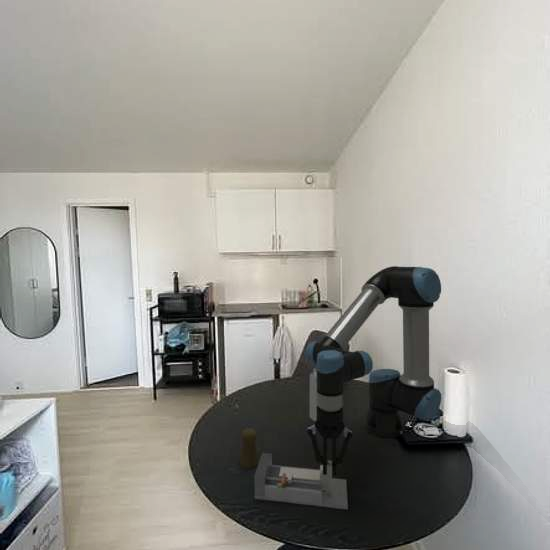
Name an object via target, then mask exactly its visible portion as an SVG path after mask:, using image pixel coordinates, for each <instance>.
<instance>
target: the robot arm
mask: <svg viewBox="0 0 550 550" xmlns="http://www.w3.org/2000/svg"><path fill="white" fill-rule="evenodd" d="M441 293H442V282H441V280H440V277H439V274H437V272H436V271H435V270H434V269H432V268H429V267H422V266H397V265H395V266H394V265H393V266H388V267H385V268H383V269H381V270H380V271H378V272H376V273H375V274H373V275H372V276H371V277H369V278H368V279H367V281H365V282H364V284H363V285H362V287H361V292H360V293H359V294H358V295H357V296H356V298H355V299H354V300H353V301H352V303H351V304H350V305H349V306H348V307H347V309H346V310H345V311H344V312H343V314H342V315H341V316H340V317H339V319H337V321H336V322H335V323H334V325H333V326H332V327H330V329H329V331H327V333H326V334H325V335H324V336H323V337H322V339H321V340H320V341H314V340H313V341H312V342H309V344H307V346H306V350H305V357H306V359H307V361H308V362H310V363H311V364H313V365H315V368H316V375H317V419H316V421H314V424H313V425H308V426H307V431H306V432H307V435H309V437H310V439H311V443H312V448H313V451H314V455H315V460H316V462H317V463H321V465H323V475H327V488H332V478H333V476H334V477H335V476H337V465H343V463H344V459H345V455H346V452H347V448H348V446H349V445H348V444H349V441H350V440H351V438H352V437H353V429H351V428H347V427H346V426H345V423H344V408H343V406H344V383H347V382H350V381H352V380H357V379H360V378H364V376H367V375H369V377H368V408H367V411H366V414H365V417H364V419H363V426H364V427H363V428H364V429H365V430H366V431H367V433H370V434H372V435H373V436H377V437H380V438H381V437H382V438H388V439H389V438H390V439H393V438H397V437H400V436H399V432H400V431H402V430H403V428H404V429H405V424H404V421H403V417H402V415H401V412H403V413H404V414H407V415H409V416H412V417H414V418H416V419H420V420H422V421H430V420H431V419H433V418H434V417H435V415H437V412H439V409H440V406H441V404H442V393H441V391H440V389H438V388H436V387H435V381H434V379H433V378H432V377H431V376H430V310H431V309H432V308H434V306H435V305H434V304H435V303H436V302H437V301H439V299H440V297H441ZM392 298H393V299H397V301H398V302H397V305H398V307H400V309H402V343H403V344H402V347H403V349H402V350H403V351H402V352H403V355H402V356H403V373H402V374H401V372H400V371H399V370H398V369H393V368H380V369H374V370H373V368H374V367H373V365H374V364H373V363H374V362H373V358H372V357H371V355H370V354H369V353H368V352H367V351H365V350H355V351H349V350H346V349H345V348H346V346H348V344H349V343H350V342H351V340H352V339H353V337H355V335H356V334H357V333H358V331H359V330H360V329H361V328H362V326H363V325H364V324H365V322H367V320H368V319H369V317H371V315H372V313H373V312H374V311H375V310H376V308H377V307H378V306H379V305H383V304H384V303H385V302H386V301H387V300H388V299H392ZM317 432H318V433H319V435H320V436H321V437H322V454H321V449H320V446H319V442H318V438H317ZM341 434H343V438H342V441H341V445H340V450H339V453H338V456H337V439H338V438H339V437H340V436H341ZM328 439H329V440H330V439H331V460H329V459H328Z"/></svg>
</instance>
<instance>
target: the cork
mask: <svg viewBox="0 0 550 550" xmlns="http://www.w3.org/2000/svg"><path fill="white" fill-rule="evenodd" d="M257 435H258V433H257V431H256V430H255V429H253V428H245V429H243V430H242V432H241V435H240V439H241V441H242V446H241V455H240V456H241V457H240V461H239V462H240V463H239V464H240V466H241V467H242V468H245V469H253V468H255V467H257V466H258V464H259V458H258V451H257V443H256V441H257V438H258V437H257Z"/></svg>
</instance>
